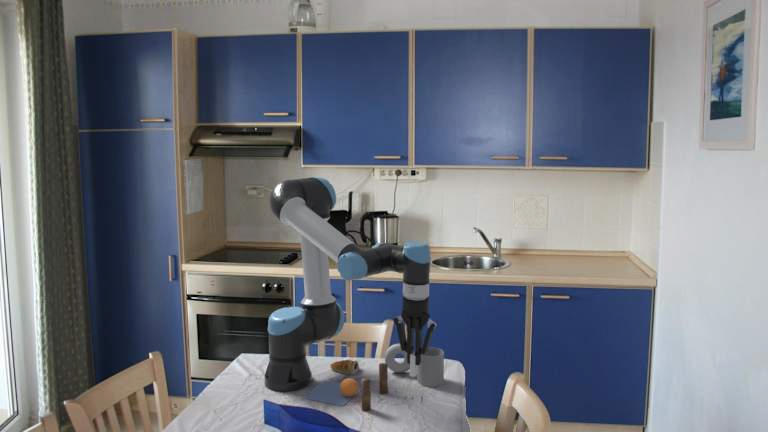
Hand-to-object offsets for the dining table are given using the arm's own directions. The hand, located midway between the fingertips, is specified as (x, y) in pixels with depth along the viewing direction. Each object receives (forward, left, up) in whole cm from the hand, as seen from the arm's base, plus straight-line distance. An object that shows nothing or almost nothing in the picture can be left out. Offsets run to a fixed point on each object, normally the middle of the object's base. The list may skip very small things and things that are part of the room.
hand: (413, 374), depth 193 cm
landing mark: (-26, 0, -10) cm, 28 cm away
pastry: (-31, +18, -11) cm, 37 cm away
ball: (-21, 0, -7) cm, 22 cm away
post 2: (-12, +6, -10) cm, 17 cm away
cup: (-2, +20, -10) cm, 22 cm away
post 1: (-12, -7, -10) cm, 17 cm away
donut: (-14, +23, -10) cm, 28 cm away
